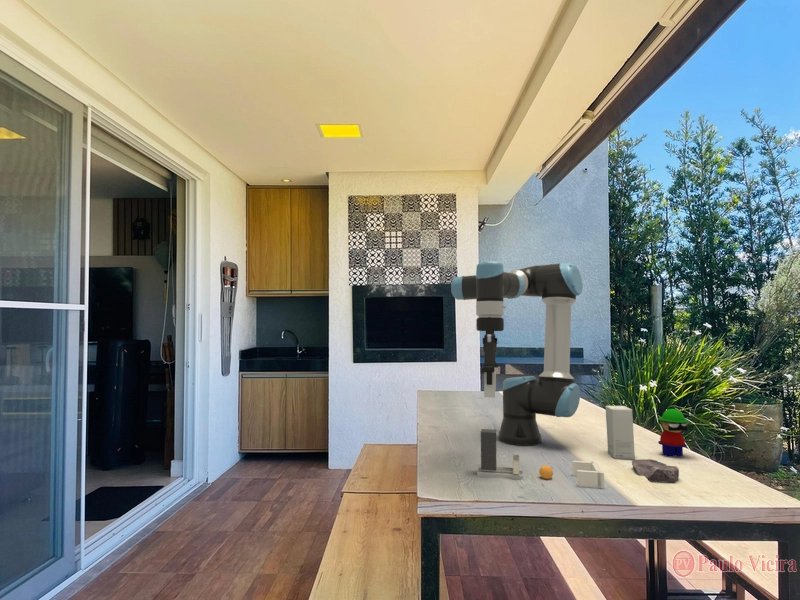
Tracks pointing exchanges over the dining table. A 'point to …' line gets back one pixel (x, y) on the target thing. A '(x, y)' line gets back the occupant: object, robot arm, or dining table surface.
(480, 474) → the pitch
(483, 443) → the dark textured box
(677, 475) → the rock
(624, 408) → the skincare box
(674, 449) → the toy
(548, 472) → the ball
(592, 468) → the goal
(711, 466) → the dining table surface
